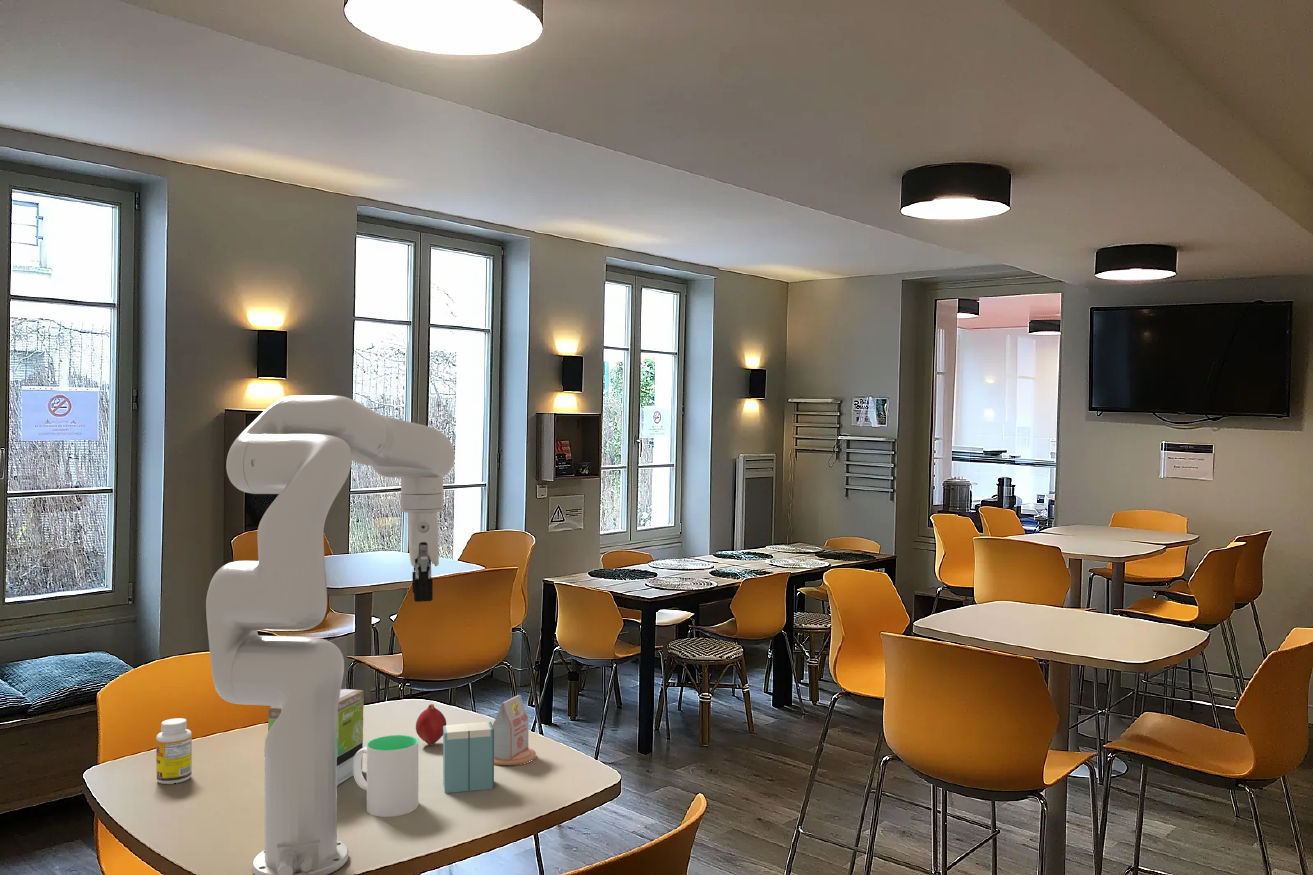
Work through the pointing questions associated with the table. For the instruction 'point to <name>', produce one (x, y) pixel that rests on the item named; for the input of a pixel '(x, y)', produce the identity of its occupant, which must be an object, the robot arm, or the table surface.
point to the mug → (389, 775)
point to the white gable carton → (511, 729)
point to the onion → (430, 725)
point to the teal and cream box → (468, 757)
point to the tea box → (342, 730)
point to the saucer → (517, 758)
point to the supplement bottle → (174, 752)
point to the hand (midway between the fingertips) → (422, 596)
